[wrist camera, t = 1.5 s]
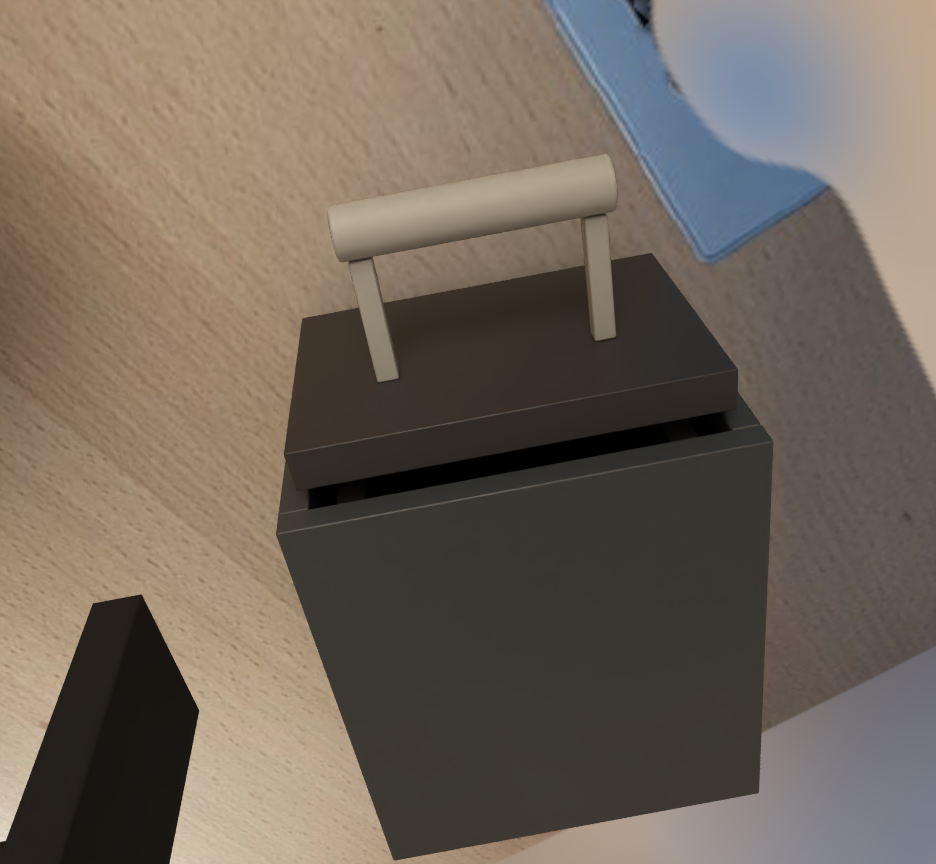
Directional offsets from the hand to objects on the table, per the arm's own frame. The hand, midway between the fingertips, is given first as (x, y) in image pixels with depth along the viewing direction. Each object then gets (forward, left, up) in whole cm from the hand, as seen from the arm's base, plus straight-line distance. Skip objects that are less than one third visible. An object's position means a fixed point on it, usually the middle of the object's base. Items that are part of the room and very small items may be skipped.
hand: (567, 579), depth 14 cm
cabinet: (+9, +7, -17) cm, 20 cm away
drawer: (+5, +4, -16) cm, 17 cm away
